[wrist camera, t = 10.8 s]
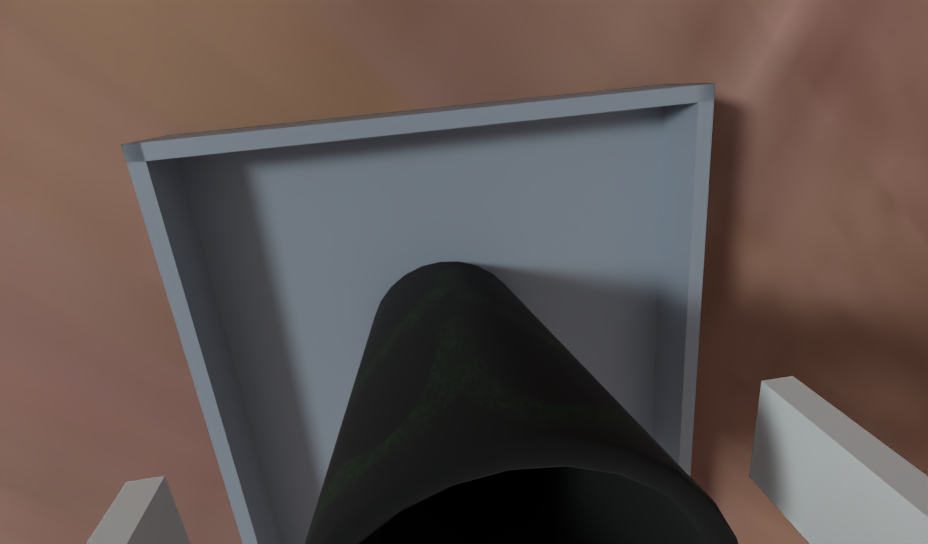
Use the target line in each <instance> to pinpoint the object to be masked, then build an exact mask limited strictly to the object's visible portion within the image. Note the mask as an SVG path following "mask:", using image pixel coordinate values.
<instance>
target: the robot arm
mask: <svg viewBox="0 0 928 544" xmlns="http://www.w3.org/2000/svg"><path fill="white" fill-rule="evenodd" d="M749 477H750V478H751V479H752V480H753V481H754V482H755V483H756V485H757V486H758V487H759V488H760V489H761V490H762V491H763V492H764V493H765V495H766V496H767V497H768V498H769V499H770V500H771V501H772V502H773V503H774V505H775V506H776V507H777V508H778V509H779V510H780V511H781V512H782V514H783V515H784V516H785V517H786V518H787V519H788V520H789V521H790V522H791V524H792V525H793V526H794V527H795V528H796V529H797V530H798V531H799V532H800V534H801V535H802V536H803V537H804V538H805V539H806V540H807V541H808V542H809V544H928V476H927V475H925V474H924V473H923V472H921V471H920V470H919V469H917V468H916V467H915V466H913V465H912V464H911V463H909V462H908V461H907V460H905V459H904V458H902V457H901V456H900V455H898V454H897V453H896V452H894V451H893V450H892V449H890V448H889V447H888V446H886V445H885V444H884V443H882V442H881V441H880V440H878V439H877V438H876V437H874V436H873V435H872V434H870V433H869V432H868V431H866V430H865V429H863V428H862V427H861V426H859V425H858V424H857V423H855V422H854V421H853V420H851V419H850V418H849V417H847V416H846V415H845V414H843V413H842V412H841V411H839V410H838V409H837V408H835V407H834V406H833V405H831V404H830V403H829V402H827V401H826V400H825V399H823V398H822V397H820V396H819V395H818V394H816V393H815V392H814V391H812V390H811V389H810V388H808V387H807V386H806V385H804V384H803V383H802V382H800V381H799V380H798V379H796V378H795V377H794V376H788V377H782V378H776V379H769V380H763V381H761V388H760V396H759V404H758V411H757V419H756V427H755V434H754V442H753V450H752V458H751V465H750V473H749ZM86 544H190V542H189V540H188V537H187V534H186V532H185V529H184V526H183V523H182V521H181V518H180V515H179V513H178V510H177V507H176V504H175V502H174V499H173V496H172V494H171V491H170V488H169V485H168V483H167V480H166V477H165V476H160V477H154V478H148V479H141V480H135V481H129V482H126V483H125V484H124V486H123V487H122V489H121V491H120V492H119V494H118V495H117V497H116V498H115V500H114V501H113V503H112V504H111V506H110V507H109V509H108V511H107V512H106V514H105V515H104V517H103V518H102V520H101V521H100V523H99V524H98V526H97V527H96V529H95V531H94V532H93V534H92V535H91V537H90V538H89V540H88V541H87V543H86Z"/></svg>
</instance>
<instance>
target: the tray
mask: <svg viewBox="0 0 928 544" xmlns="http://www.w3.org/2000/svg"><path fill="white" fill-rule="evenodd" d="M714 95H715V83H698V84H663V85H653V86H644V87H634V88H624V89H614V90H605V91H595V92H585V93H575V94H566V95H556V96H546V97H537V98H527V99H517V100H507V101H498V102H488V103H478V104H468V105H459V106H449V107H439V108H430V109H420V110H410V111H400V112H391V113H381V114H371V115H361V116H352V117H342V118H332V119H323V120H313V121H303V122H293V123H284V124H274V125H264V126H255V127H245V128H235V129H225V130H216V131H206V132H196V133H186V134H177V135H167V136H162V137H157V138H152V139H147V140H142V141H137V142H132V143H127V144H122V145H121V146H122V149H123V153H124V156H125V159H126V162H127V166H128V169H129V172H130V176H131V179H132V182H133V185H134V189H135V192H136V195H137V198H138V202H139V205H140V208H141V212H142V215H143V218H144V221H145V225H146V228H147V231H148V235H149V238H150V241H151V244H152V248H153V251H154V254H155V257H156V261H157V264H158V267H159V271H160V274H161V277H162V280H163V284H164V287H165V290H166V293H167V297H168V300H169V303H170V307H171V310H172V313H173V316H174V320H175V323H176V326H177V330H178V333H179V336H180V339H181V343H182V346H183V349H184V352H185V356H186V359H187V362H188V366H189V369H190V372H191V375H192V379H193V382H194V385H195V389H196V392H197V395H198V398H199V402H200V405H201V408H202V411H203V415H204V418H205V421H206V425H207V428H208V431H209V434H210V438H211V441H212V444H213V448H214V451H215V454H216V457H217V461H218V464H219V467H220V470H221V474H222V477H223V480H224V484H225V487H226V490H227V493H228V497H229V500H230V503H231V507H232V510H233V513H234V516H235V520H236V523H237V526H238V529H239V533H240V536H241V539H242V543H243V544H305V541H306V538H307V535H308V532H309V528H310V525H311V522H312V519H313V515H314V512H315V509H316V506H317V502H318V499H319V496H320V493H321V489H322V486H323V483H324V480H325V476H326V473H327V470H328V467H329V463H330V460H331V457H332V454H333V450H334V447H335V444H336V441H337V437H338V434H339V431H340V428H341V424H342V421H343V418H344V415H345V411H346V408H347V405H348V402H349V398H350V395H351V392H352V389H353V385H354V382H355V379H356V376H357V372H358V369H359V366H360V363H361V359H362V356H363V353H364V350H365V346H366V343H367V340H368V337H369V333H370V330H371V327H372V324H373V320H374V317H375V315H376V312H377V309H378V307H379V304H380V302H381V300H382V299H383V297H384V296H385V294H386V293H387V292H388V290H389V289H390V287H391V286H393V285H394V284H395V283H396V282H397V281H398V280H400V279H401V278H402V277H403V276H404V275H406V274H408V273H410V272H411V271H413V270H415V269H417V268H419V267H421V266H425V265H429V264H433V263H437V262H458V261H459V262H463V263H468V264H472V265H476V266H478V267H480V268H482V269H484V270H486V271H488V272H490V273H492V274H493V275H495V276H496V277H497V278H498V279H499V280H500V281H502V282H503V283H504V284H505V285H506V286H507V287H508V288H509V289H510V290H511V291H512V292H513V293H514V294H515V295H516V296H517V297H518V299H519V300H520V301H521V302H522V303H523V304H524V305H525V306H526V307H527V308H528V309H529V310H530V311H531V312H532V313H533V314H534V315H535V316H536V317H537V318H538V319H539V320H540V321H541V322H542V323H543V324H544V326H545V327H546V328H547V329H548V330H549V331H550V332H551V333H552V334H553V335H554V336H555V337H556V338H557V339H558V340H559V341H560V342H561V343H562V344H563V345H564V346H565V347H566V348H567V349H568V350H569V351H570V353H571V354H572V355H573V356H574V357H575V358H576V359H577V360H578V361H579V362H580V363H581V364H582V365H583V366H584V367H585V368H586V369H587V370H588V371H589V372H590V373H591V374H592V375H593V376H594V377H595V378H596V380H597V381H598V382H599V383H600V384H601V385H602V386H603V387H604V388H605V389H606V390H607V391H608V392H609V393H610V394H611V395H612V396H613V397H614V398H615V399H616V400H617V401H618V402H619V403H620V404H621V405H622V407H623V408H624V409H625V410H626V411H627V412H628V413H629V414H630V415H631V416H632V417H633V418H634V419H635V420H636V421H637V422H638V423H639V424H640V425H641V426H642V427H643V428H644V429H645V430H646V431H647V432H648V433H649V435H650V436H651V437H652V438H653V439H654V440H655V441H656V442H657V443H658V444H659V445H660V446H661V447H662V448H663V449H664V450H665V451H666V452H667V453H668V454H669V455H670V456H671V457H672V458H673V459H674V460H675V462H676V463H677V464H678V465H679V466H680V467H681V468H682V469H683V470H684V471H685V472H686V473H687V474H688V475H689V476H691V460H692V444H693V428H694V412H695V397H696V381H697V365H698V349H699V333H700V317H701V301H702V285H703V269H704V254H705V238H706V222H707V206H708V190H709V174H710V158H711V142H712V126H713V110H714Z"/></svg>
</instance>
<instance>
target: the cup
mask: <svg viewBox="0 0 928 544" xmlns="http://www.w3.org/2000/svg"><path fill="white" fill-rule="evenodd" d="M305 544H738V542H737V538H736V536H735V535H734V533H733V531H732V530H731V528H730V526H729V525H728V523H727V522H726V520H725V518H724V517H723V515H722V513H721V512H720V510H719V508H718V507H717V505H716V503H715V502H714V501H713V500H712V499H711V498H710V497H709V496H708V495H707V494H706V493H705V492H704V491H703V490H702V489H701V487H700V486H699V485H698V484H697V483H696V482H695V481H694V480H693V479H692V478H691V477H690V476H689V475H688V474H687V473H686V472H685V471H684V470H683V469H682V468H681V467H680V466H679V465H678V464H677V463H676V462H675V460H674V459H673V458H672V457H671V456H670V455H669V454H668V453H667V452H666V451H665V450H664V449H663V448H662V447H661V446H660V445H659V444H658V443H657V442H656V441H655V440H654V439H653V438H652V437H651V436H650V435H649V433H648V432H647V431H646V430H645V429H644V428H643V427H642V426H641V425H640V424H639V423H638V422H637V421H636V420H635V419H634V418H633V417H632V416H631V415H630V414H629V413H628V412H627V411H626V410H625V409H624V408H623V407H622V405H621V404H620V403H619V402H618V401H617V400H616V399H615V398H614V397H613V396H612V395H611V394H610V393H609V392H608V391H607V390H606V389H605V388H604V387H603V386H602V385H601V384H600V383H599V382H598V381H597V380H596V378H595V377H594V376H593V375H592V374H591V373H590V372H589V371H588V370H587V369H586V368H585V367H584V366H583V365H582V364H581V363H580V362H579V361H578V360H577V359H576V358H575V357H574V356H573V355H572V354H571V353H570V351H569V350H568V349H567V348H566V347H565V346H564V345H563V344H562V343H561V342H560V341H559V340H558V339H557V338H556V337H555V336H554V335H553V334H552V333H551V332H550V331H549V330H548V329H547V328H546V327H545V326H544V324H543V323H542V322H541V321H540V320H539V319H538V318H537V317H536V316H535V315H534V314H533V313H532V312H531V311H530V310H529V309H528V308H527V307H526V306H525V305H524V304H523V303H522V302H521V301H520V300H519V299H518V297H517V296H516V295H515V294H514V293H513V292H512V291H511V290H510V289H509V288H508V287H507V286H506V285H505V284H504V283H503V282H502V281H500V280H499V279H498V278H497V277H496V276H495V275H493V274H492V273H490V272H488V271H486V270H484V269H482V268H480V267H478V266H476V265H472V264H468V263H463V262H459V261H458V262H437V263H433V264H429V265H425V266H421V267H419V268H417V269H415V270H413V271H411V272H410V273H408V274H406V275H404V276H403V277H402V278H401V279H400V280H398V281H397V282H396V283H395V284H394V285H393V286H391V287H390V289H389V290H388V292H387V293H386V294H385V296H384V297H383V299H382V300H381V302H380V304H379V307H378V309H377V312H376V315H375V317H374V320H373V324H372V327H371V330H370V333H369V337H368V340H367V343H366V346H365V350H364V353H363V356H362V359H361V363H360V366H359V369H358V372H357V376H356V379H355V382H354V385H353V389H352V392H351V395H350V398H349V402H348V405H347V408H346V411H345V415H344V418H343V421H342V424H341V428H340V431H339V434H338V437H337V441H336V444H335V447H334V450H333V454H332V457H331V460H330V463H329V467H328V470H327V473H326V476H325V480H324V483H323V486H322V489H321V493H320V496H319V499H318V502H317V506H316V509H315V512H314V515H313V519H312V522H311V525H310V528H309V532H308V535H307V538H306V541H305Z"/></svg>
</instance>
